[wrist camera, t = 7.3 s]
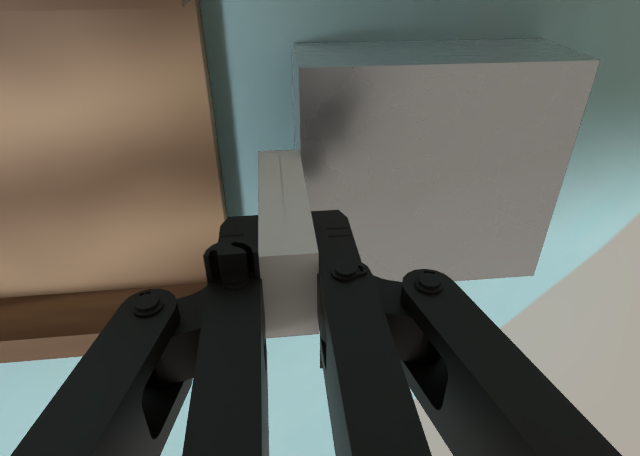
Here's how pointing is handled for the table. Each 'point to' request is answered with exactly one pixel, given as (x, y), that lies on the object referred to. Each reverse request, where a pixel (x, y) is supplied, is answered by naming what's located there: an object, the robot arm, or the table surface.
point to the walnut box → (101, 165)
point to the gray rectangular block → (440, 147)
